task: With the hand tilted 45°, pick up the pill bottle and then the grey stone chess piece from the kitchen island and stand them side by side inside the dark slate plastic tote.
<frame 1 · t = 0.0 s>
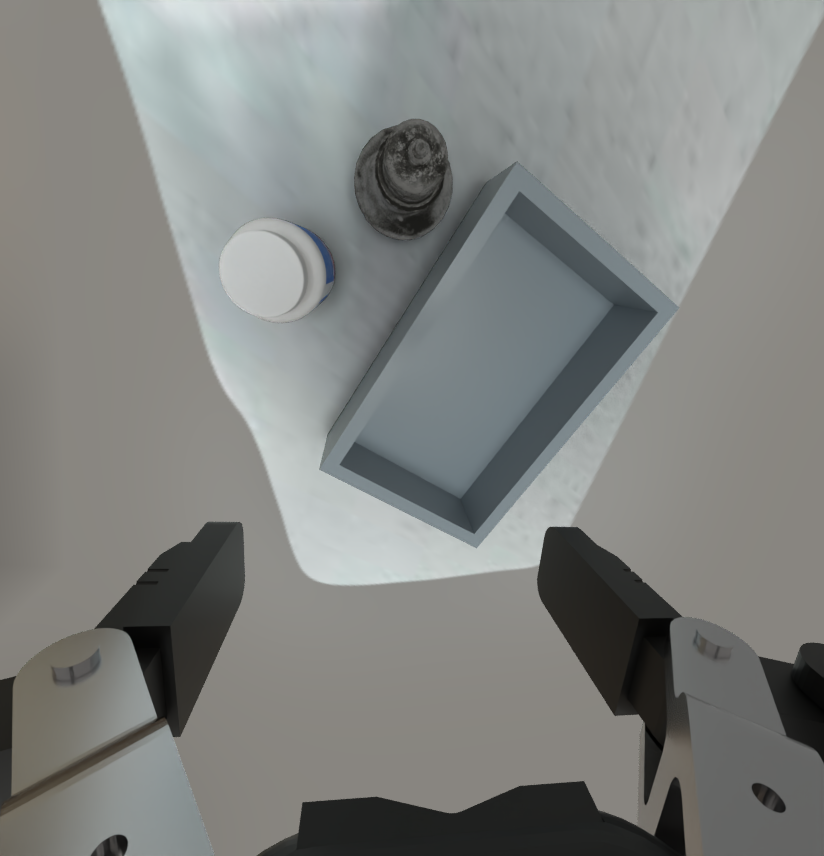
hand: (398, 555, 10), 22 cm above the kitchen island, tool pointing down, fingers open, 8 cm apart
tote: (471, 369, 32), on the kitchen island
pill bottle: (297, 269, 28), on the kitchen island
grey stone chess piece: (399, 195, 27), on the kitchen island
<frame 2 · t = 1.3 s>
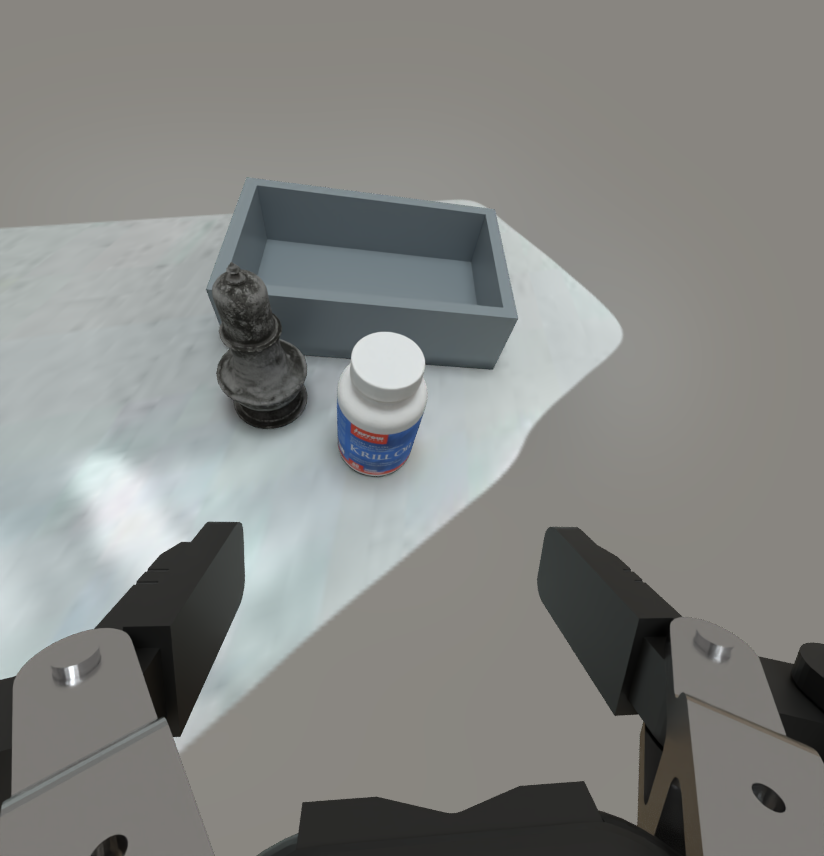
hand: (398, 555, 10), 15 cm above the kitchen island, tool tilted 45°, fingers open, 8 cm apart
tote: (369, 301, 37), on the kitchen island
pill bottle: (375, 445, 29), on the kitchen island
grey stone chess piece: (271, 400, 30), on the kitchen island
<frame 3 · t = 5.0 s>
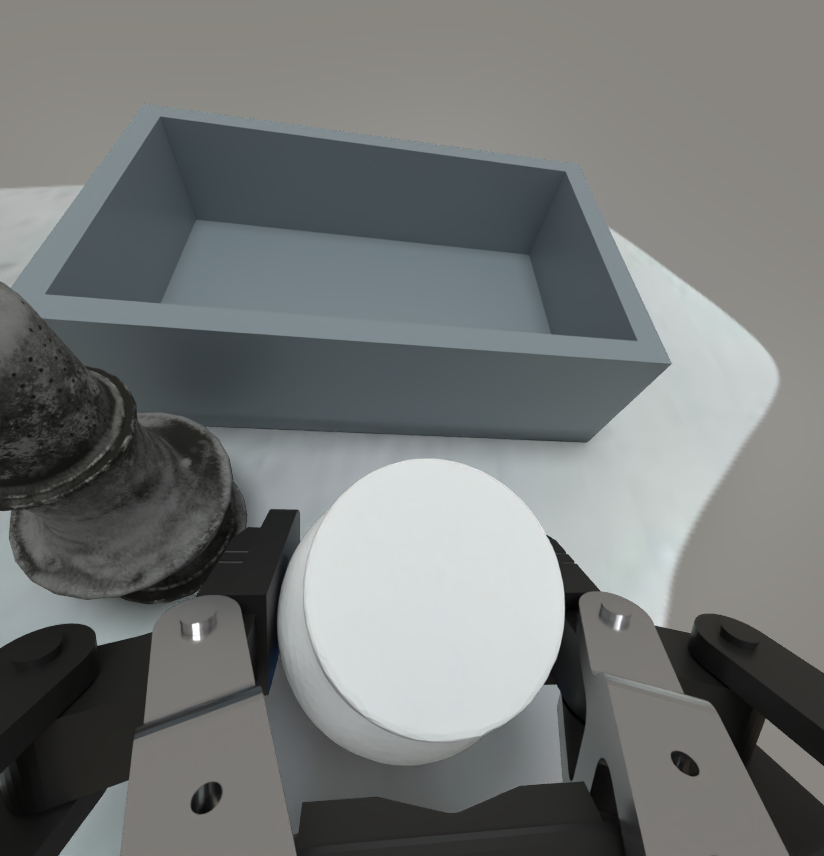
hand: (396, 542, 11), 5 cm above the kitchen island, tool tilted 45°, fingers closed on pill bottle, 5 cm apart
tote: (368, 322, 22), on the kitchen island
pill bottle: (383, 627, 14), on the kitchen island, touching gripper
grey stone chess piece: (175, 529, 15), on the kitchen island
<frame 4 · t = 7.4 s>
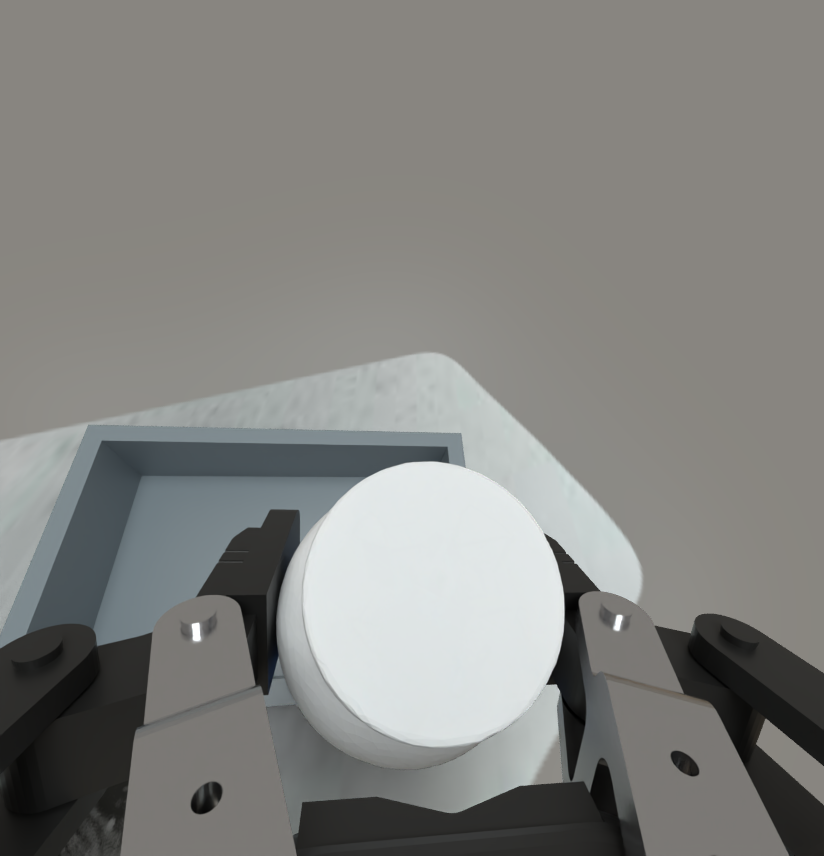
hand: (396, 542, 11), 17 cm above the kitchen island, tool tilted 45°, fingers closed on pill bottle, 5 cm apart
tote: (287, 567, 26), on the kitchen island
pill bottle: (382, 629, 14), point 12 cm above the kitchen island, touching gripper
grey stone chess piece: (114, 817, 19), on the kitchen island
when the fingers open (7 cm above the kitchen island, at t = 10.0 s): pill bottle drops 1 cm, resting on tote.
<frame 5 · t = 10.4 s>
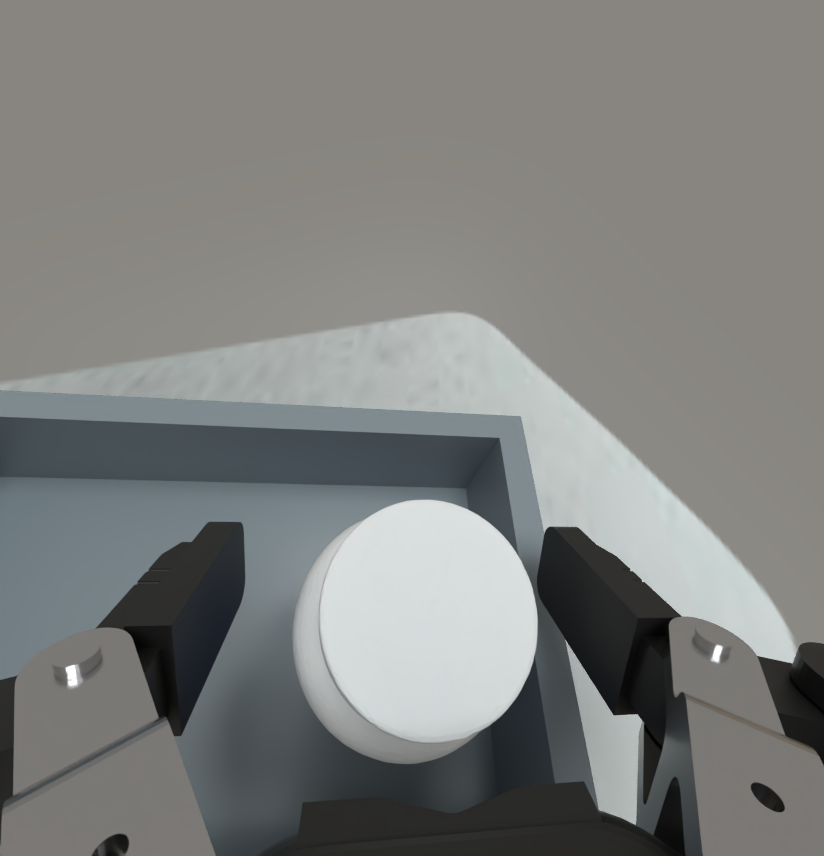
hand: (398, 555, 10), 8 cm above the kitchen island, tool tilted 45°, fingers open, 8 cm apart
tote: (226, 635, 15), on the kitchen island
pill bottle: (384, 637, 15), point 1 cm above the kitchen island, touching tote
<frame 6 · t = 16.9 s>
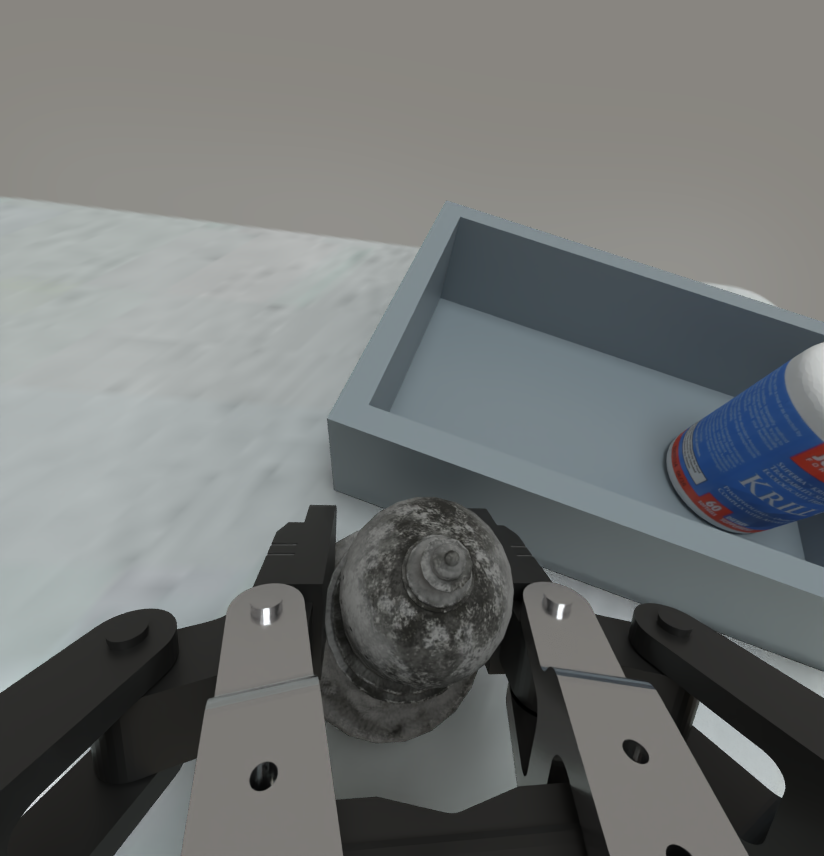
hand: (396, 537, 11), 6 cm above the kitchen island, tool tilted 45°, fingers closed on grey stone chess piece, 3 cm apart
tote: (585, 445, 21), on the kitchen island
pill bottle: (712, 483, 19), point 1 cm above the kitchen island, touching tote
grey stone chess piece: (381, 629, 15), on the kitchen island, touching gripper
when the fingers open (8 cm above the kitchen island, at t = 21.1 s): grey stone chess piece drops 1 cm, resting on tote.
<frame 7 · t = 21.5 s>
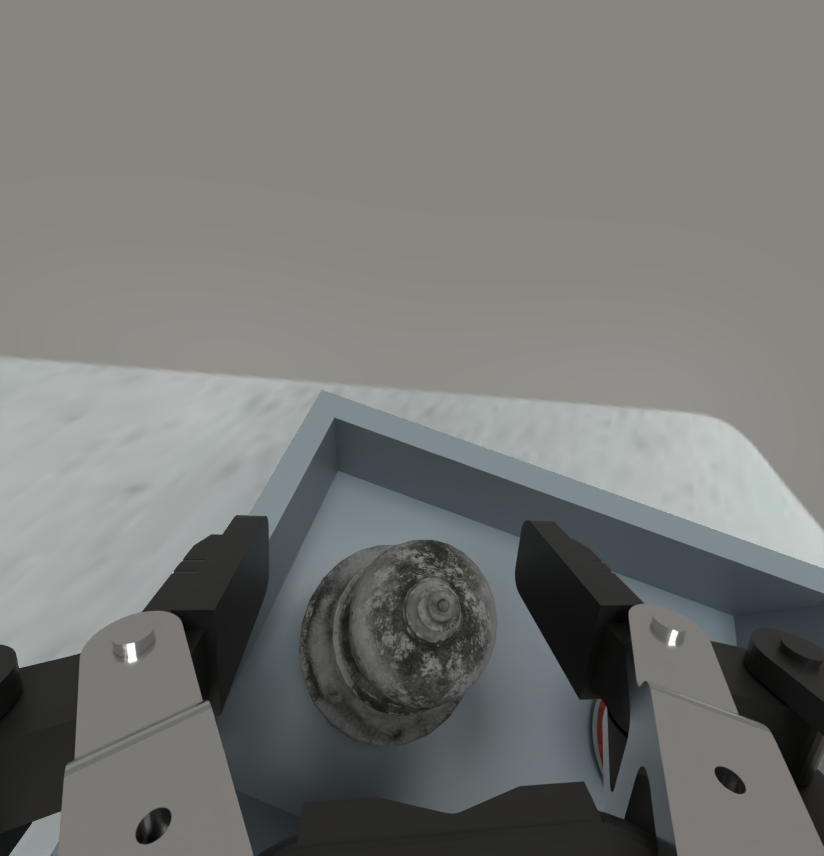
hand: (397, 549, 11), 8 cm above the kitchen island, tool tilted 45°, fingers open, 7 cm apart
tote: (499, 680, 17), on the kitchen island
pill bottle: (651, 745, 16), point 1 cm above the kitchen island, touching tote
grey stone chess piece: (382, 638, 16), point 1 cm above the kitchen island, touching tote
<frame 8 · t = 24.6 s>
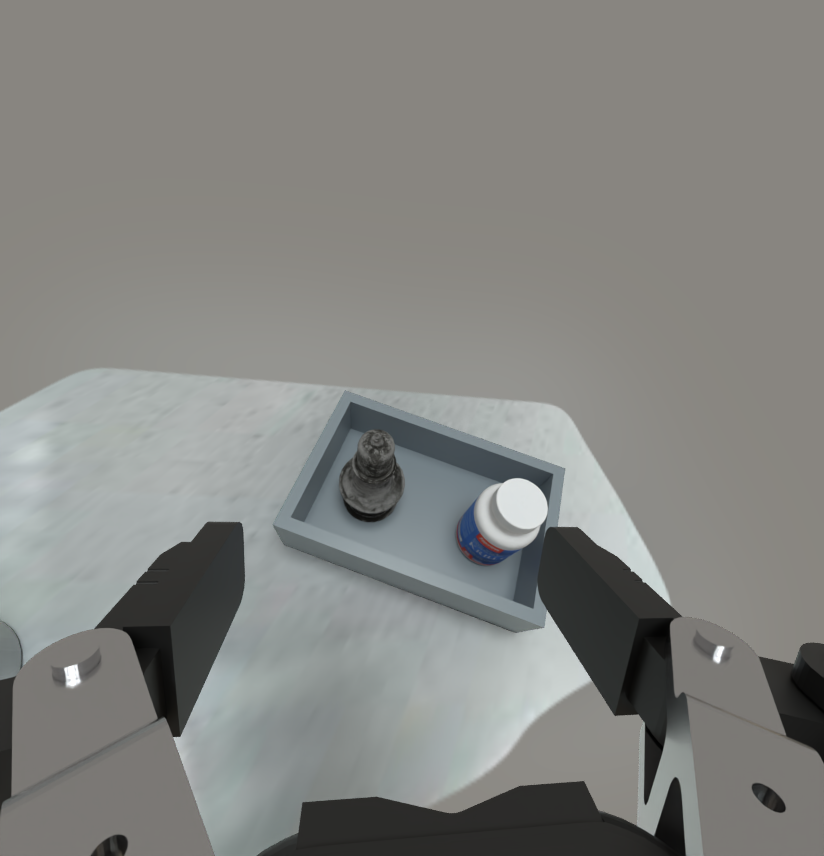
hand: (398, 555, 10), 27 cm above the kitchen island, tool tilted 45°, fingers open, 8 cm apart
tote: (421, 516, 39), on the kitchen island
pill bottle: (482, 538, 38), point 1 cm above the kitchen island, touching tote
grey stone chess piece: (370, 496, 38), point 1 cm above the kitchen island, touching tote
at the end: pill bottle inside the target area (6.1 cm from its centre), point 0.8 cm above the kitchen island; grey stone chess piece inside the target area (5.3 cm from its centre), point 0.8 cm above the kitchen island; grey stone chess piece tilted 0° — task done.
